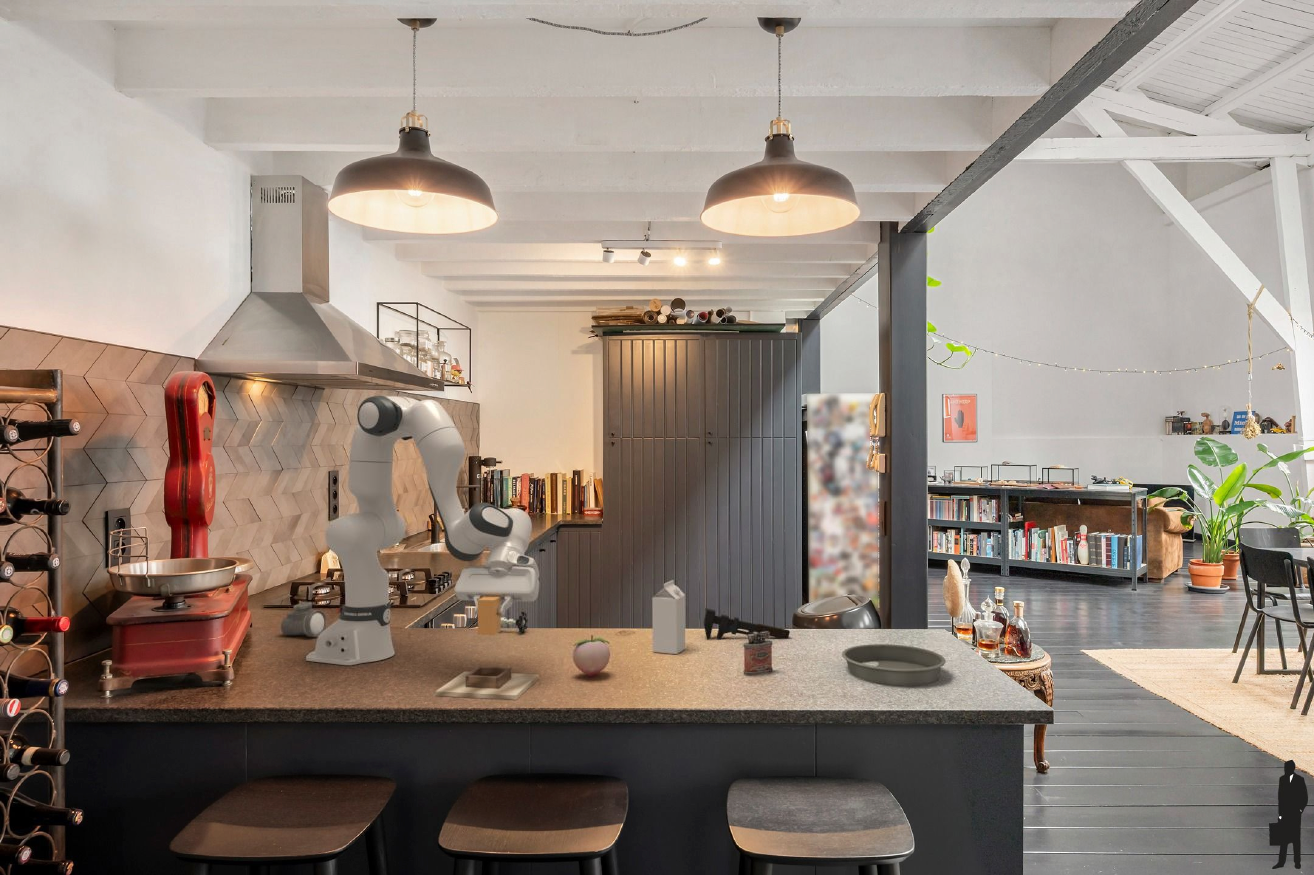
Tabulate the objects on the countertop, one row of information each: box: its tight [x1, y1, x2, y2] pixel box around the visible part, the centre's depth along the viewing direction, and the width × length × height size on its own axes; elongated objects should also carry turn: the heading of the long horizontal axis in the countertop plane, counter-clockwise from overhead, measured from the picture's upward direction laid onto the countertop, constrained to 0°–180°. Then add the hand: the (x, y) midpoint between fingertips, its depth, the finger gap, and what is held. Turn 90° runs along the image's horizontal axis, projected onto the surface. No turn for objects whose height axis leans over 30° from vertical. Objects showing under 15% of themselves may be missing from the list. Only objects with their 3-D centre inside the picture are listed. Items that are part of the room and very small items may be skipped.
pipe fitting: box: [280, 601, 328, 638], centre depth 231 cm, size 12×8×10 cm
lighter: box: [742, 631, 774, 677], centre depth 190 cm, size 8×3×10 cm, turn 117°
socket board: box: [435, 666, 540, 701], centre depth 179 cm, size 19×16×4 cm
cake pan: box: [841, 643, 946, 687], centre depth 190 cm, size 25×25×4 cm
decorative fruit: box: [572, 634, 611, 677], centre depth 187 cm, size 9×8×10 cm
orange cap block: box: [477, 597, 502, 636], centre depth 179 cm, size 4×4×8 cm
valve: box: [497, 611, 529, 634], centre depth 234 cm, size 7×7×12 cm
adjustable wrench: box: [703, 608, 791, 641], centre depth 225 cm, size 8×3×25 cm
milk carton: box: [651, 579, 686, 655], centre depth 212 cm, size 7×7×19 cm
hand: (489, 614), depth 179 cm, fingers closed on orange cap block, 4 cm apart
